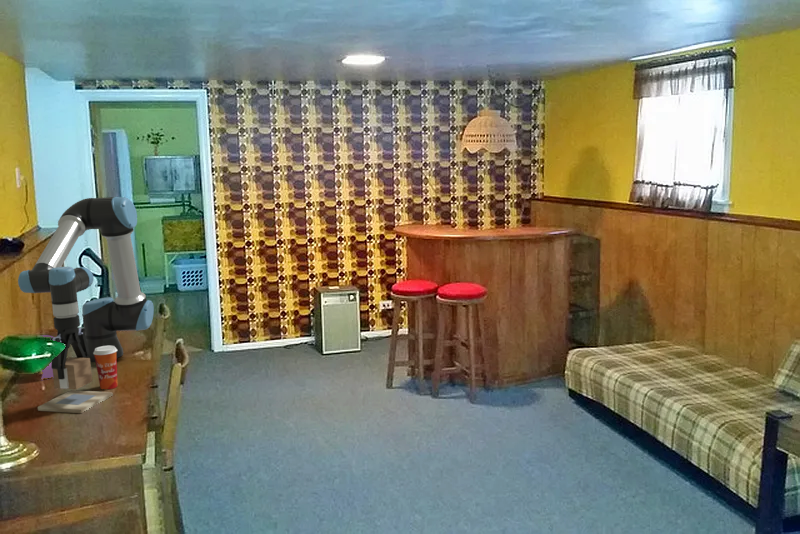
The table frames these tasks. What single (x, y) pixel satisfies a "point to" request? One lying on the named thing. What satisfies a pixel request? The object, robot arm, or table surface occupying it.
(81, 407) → the blueprint plate
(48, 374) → the toy chair
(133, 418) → the table surface
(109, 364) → the paper cup
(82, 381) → the walnut block
